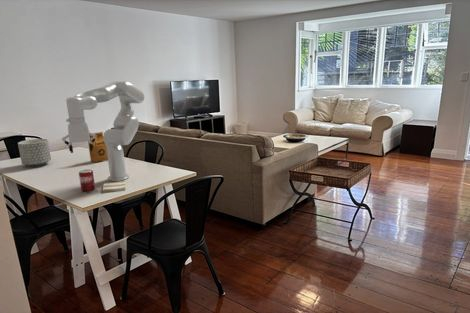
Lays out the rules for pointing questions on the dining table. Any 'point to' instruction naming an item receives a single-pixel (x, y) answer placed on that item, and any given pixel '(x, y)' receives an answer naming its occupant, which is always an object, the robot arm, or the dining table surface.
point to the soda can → (87, 181)
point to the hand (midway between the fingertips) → (81, 151)
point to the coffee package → (98, 148)
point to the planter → (34, 152)
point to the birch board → (114, 186)
